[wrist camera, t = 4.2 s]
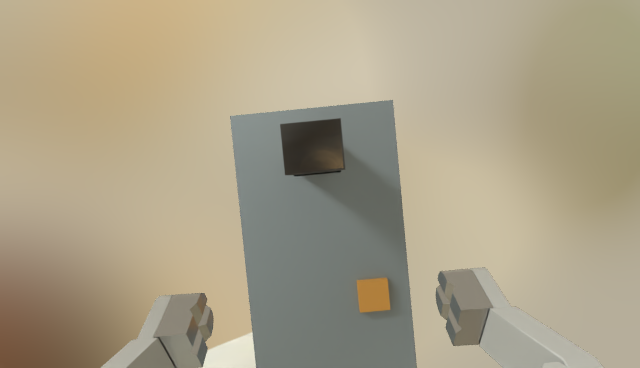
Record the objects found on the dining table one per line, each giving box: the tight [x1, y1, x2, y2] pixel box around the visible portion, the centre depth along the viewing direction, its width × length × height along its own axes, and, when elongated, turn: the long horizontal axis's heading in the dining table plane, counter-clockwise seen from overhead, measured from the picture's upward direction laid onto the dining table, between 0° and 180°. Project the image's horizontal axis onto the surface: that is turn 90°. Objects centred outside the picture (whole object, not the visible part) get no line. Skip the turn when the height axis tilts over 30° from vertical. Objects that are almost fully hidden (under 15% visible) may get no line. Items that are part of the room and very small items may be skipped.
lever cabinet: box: [230, 100, 417, 368], centre depth 31 cm, size 13×11×31 cm
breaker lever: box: [280, 118, 346, 175], centre depth 25 cm, size 3×16×3 cm, turn 0°
